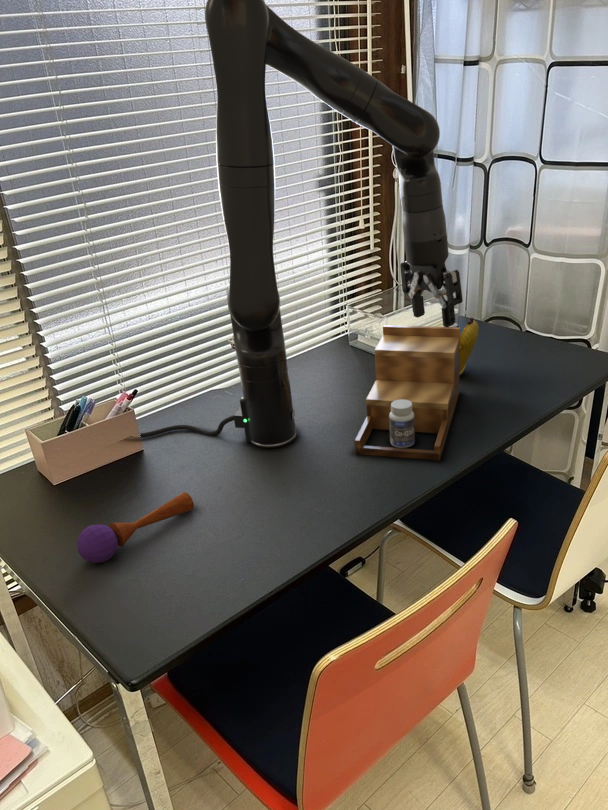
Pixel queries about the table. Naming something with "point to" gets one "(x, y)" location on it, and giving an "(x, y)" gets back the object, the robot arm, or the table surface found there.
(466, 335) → the banana bunch
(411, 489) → the table surface
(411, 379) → the stepped rack
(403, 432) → the pill bottle
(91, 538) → the kendama
